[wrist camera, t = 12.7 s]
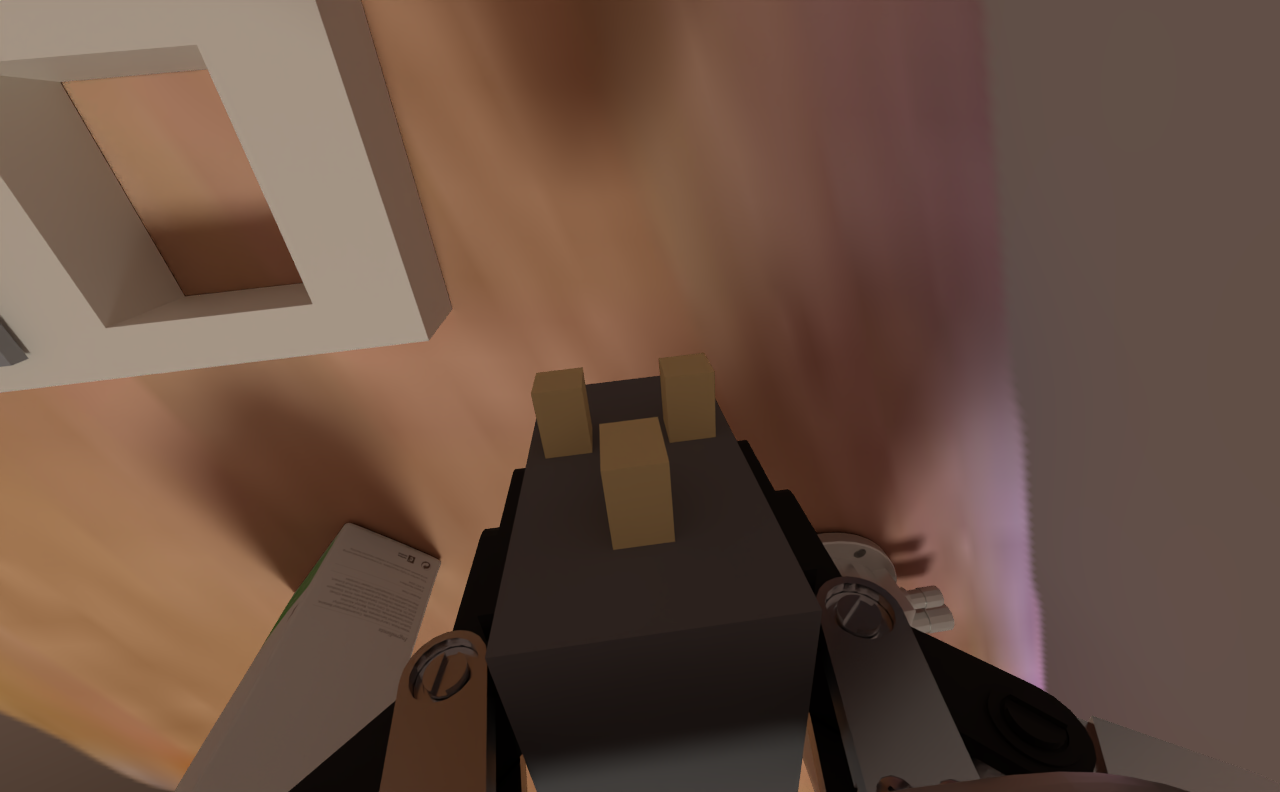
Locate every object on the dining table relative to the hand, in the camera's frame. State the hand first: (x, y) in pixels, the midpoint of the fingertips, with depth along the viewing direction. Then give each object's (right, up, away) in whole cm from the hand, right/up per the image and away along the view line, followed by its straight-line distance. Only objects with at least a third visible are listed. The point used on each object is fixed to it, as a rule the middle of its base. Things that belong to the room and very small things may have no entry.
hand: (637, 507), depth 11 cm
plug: (0, +1, +2) cm, 2 cm away
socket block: (-19, +11, +8) cm, 23 cm away
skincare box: (-17, -9, +19) cm, 27 cm away
